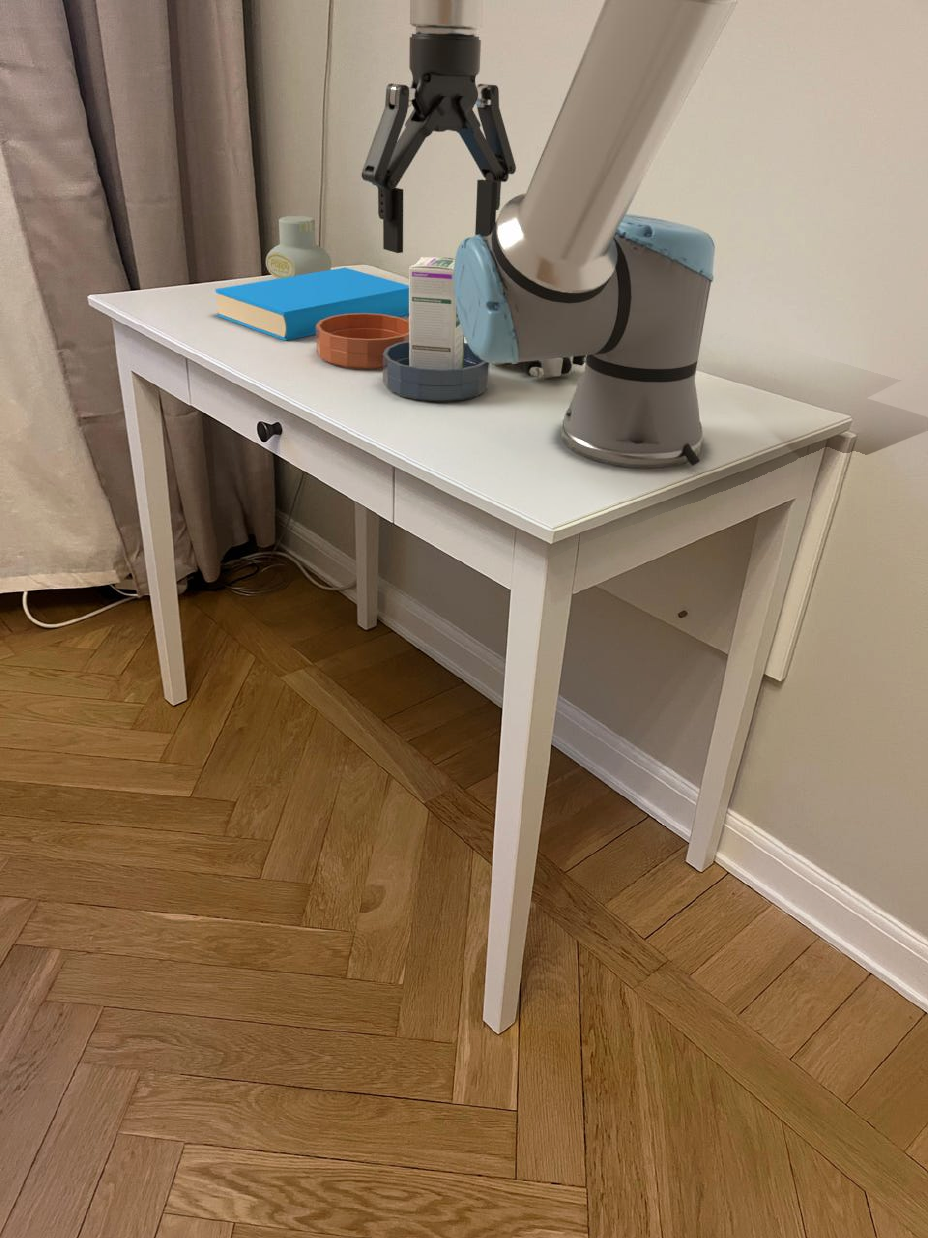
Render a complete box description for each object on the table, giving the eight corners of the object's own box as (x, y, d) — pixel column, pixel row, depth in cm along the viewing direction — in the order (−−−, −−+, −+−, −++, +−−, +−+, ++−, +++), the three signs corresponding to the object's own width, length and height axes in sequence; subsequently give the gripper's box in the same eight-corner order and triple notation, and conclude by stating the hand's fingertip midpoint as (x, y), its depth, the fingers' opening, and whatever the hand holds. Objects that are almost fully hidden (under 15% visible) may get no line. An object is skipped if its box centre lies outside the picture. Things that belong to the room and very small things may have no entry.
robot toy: (600, 381, 130) (524, 344, 139) (605, 347, 127) (528, 312, 136) (531, 397, 123) (457, 358, 132) (535, 362, 120) (459, 324, 130)
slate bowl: (509, 390, 122) (511, 359, 120) (427, 410, 115) (427, 377, 113) (443, 364, 131) (444, 333, 129) (363, 380, 123) (362, 349, 121)
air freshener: (259, 278, 167) (255, 216, 162) (296, 272, 173) (293, 211, 168) (303, 290, 162) (300, 226, 156) (339, 283, 167) (338, 220, 162)
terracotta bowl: (434, 360, 132) (435, 330, 130) (354, 376, 125) (353, 345, 123) (377, 337, 140) (377, 308, 138) (299, 351, 133) (297, 321, 131)
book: (213, 289, 144) (343, 264, 160) (216, 318, 146) (344, 291, 162) (287, 313, 134) (417, 284, 150) (289, 344, 137) (417, 313, 153)
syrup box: (454, 392, 120) (458, 268, 112) (407, 387, 121) (408, 264, 113) (463, 378, 125) (468, 258, 117) (418, 373, 126) (420, 254, 118)
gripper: (509, 34, 113) (499, 230, 123) (325, 26, 98) (331, 249, 109) (555, 36, 108) (540, 240, 119) (368, 28, 94) (371, 261, 105)
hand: (440, 245), depth 114 cm, fingers open, 13 cm apart
